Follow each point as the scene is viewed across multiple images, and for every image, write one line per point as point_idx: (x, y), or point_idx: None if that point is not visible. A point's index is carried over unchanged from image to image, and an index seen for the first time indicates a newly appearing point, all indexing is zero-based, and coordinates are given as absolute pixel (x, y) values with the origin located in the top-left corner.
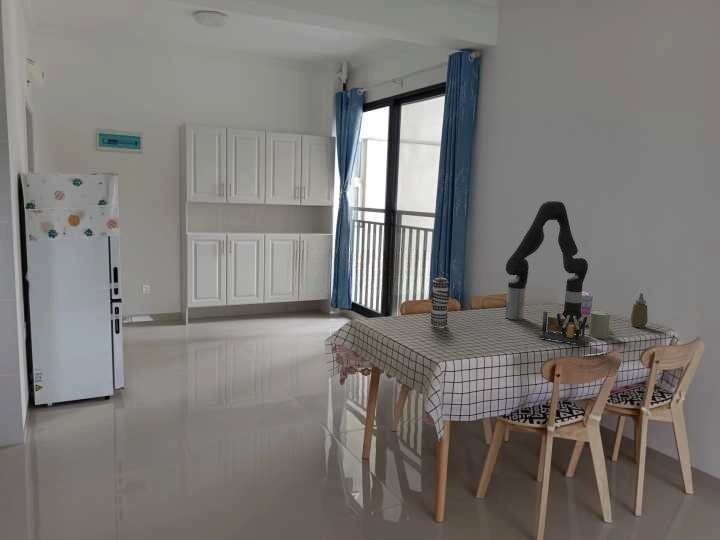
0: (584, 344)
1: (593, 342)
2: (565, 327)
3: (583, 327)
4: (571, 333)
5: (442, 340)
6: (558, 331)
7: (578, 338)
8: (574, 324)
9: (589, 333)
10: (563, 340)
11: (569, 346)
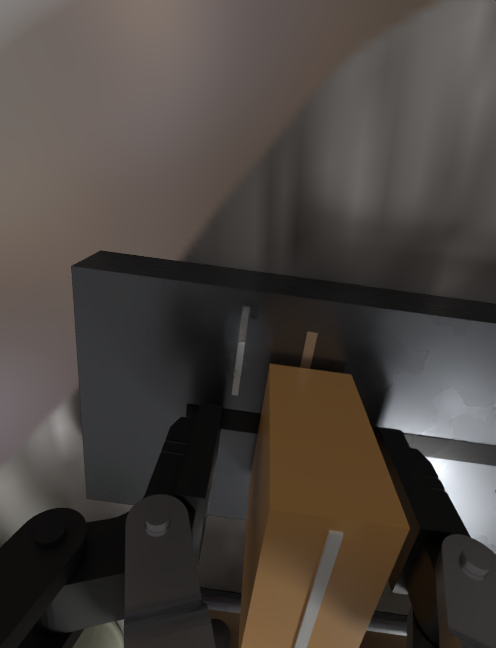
0: (101, 256)
1: (36, 432)
2: (412, 571)
3: (15, 539)
4: (290, 405)
5: None
6: (390, 636)
7: (182, 393)
8: None
9: (105, 642)
10: (395, 299)
11: (315, 94)
